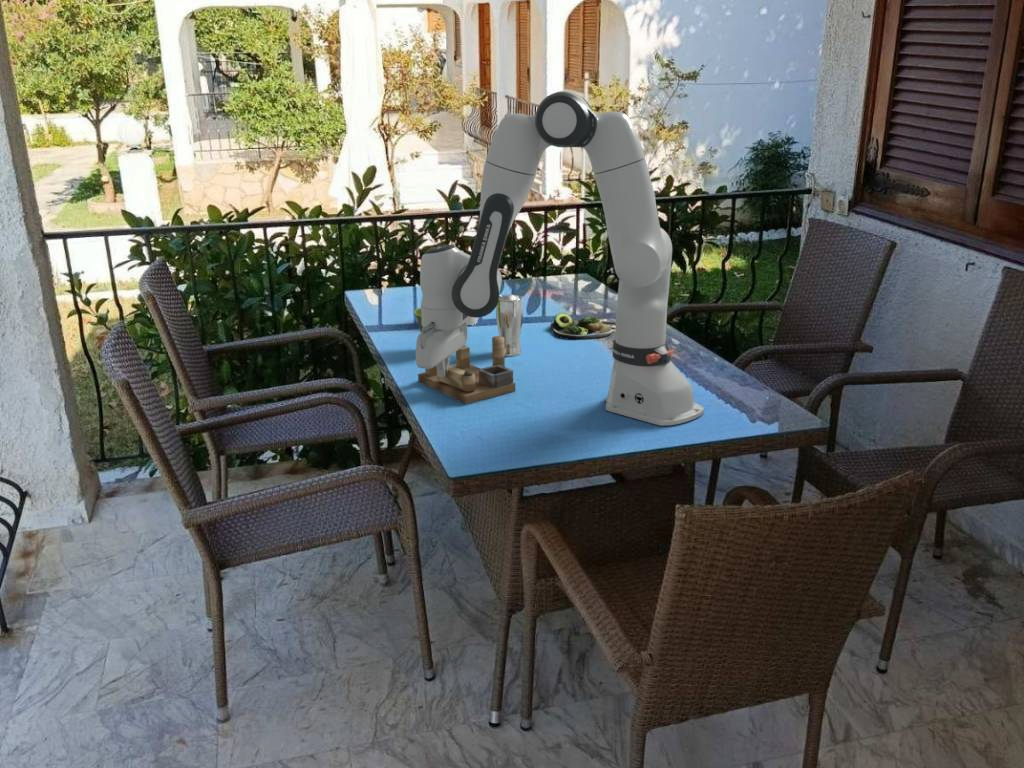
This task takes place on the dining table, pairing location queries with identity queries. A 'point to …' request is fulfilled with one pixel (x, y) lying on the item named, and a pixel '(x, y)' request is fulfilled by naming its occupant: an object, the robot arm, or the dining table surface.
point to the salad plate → (579, 327)
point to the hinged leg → (459, 379)
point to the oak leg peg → (498, 351)
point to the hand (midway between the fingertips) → (442, 375)
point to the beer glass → (510, 322)
